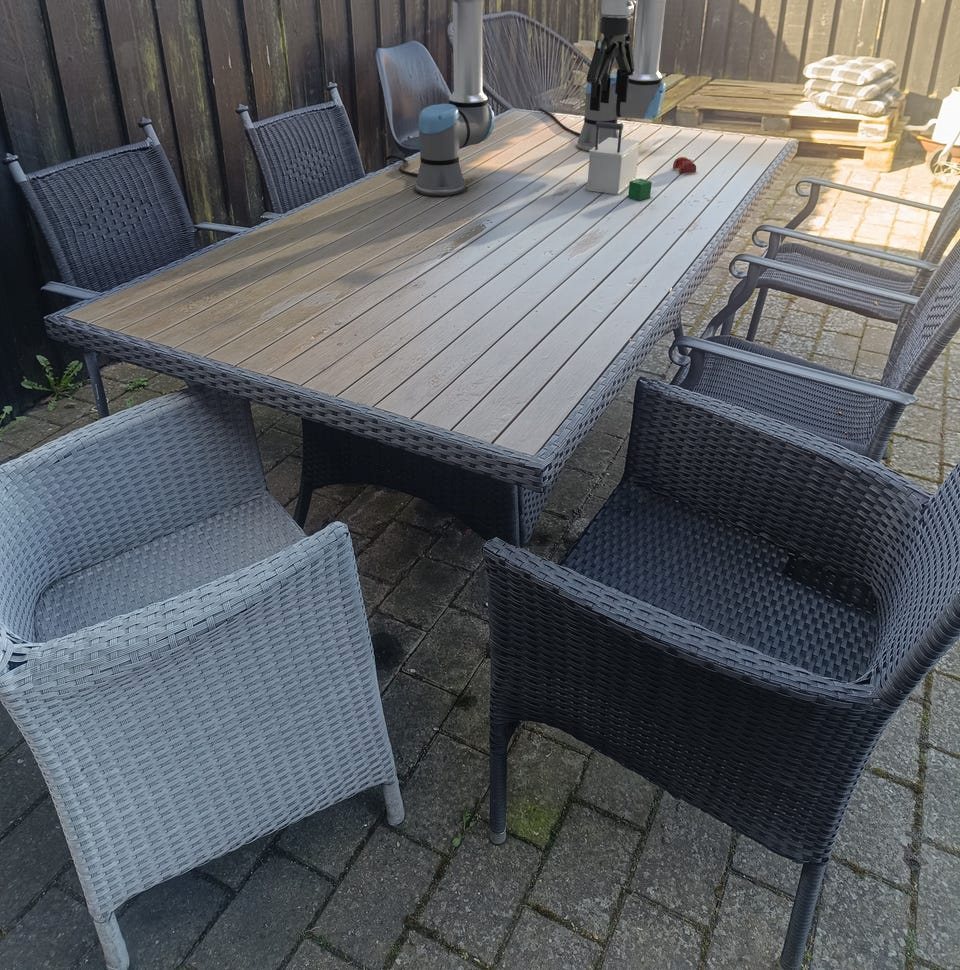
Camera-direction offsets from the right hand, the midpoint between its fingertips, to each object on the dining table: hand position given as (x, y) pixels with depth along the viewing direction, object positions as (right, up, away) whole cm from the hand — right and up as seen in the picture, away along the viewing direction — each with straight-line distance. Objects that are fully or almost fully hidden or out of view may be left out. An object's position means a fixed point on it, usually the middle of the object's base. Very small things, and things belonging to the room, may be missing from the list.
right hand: (612, 98), depth 242 cm
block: (+10, -25, +10) cm, 29 cm away
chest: (+3, -18, +21) cm, 27 cm away
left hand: (-3, -9, -16) cm, 19 cm away
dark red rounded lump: (+29, -9, +33) cm, 45 cm away
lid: (+3, -9, +14) cm, 17 cm away
